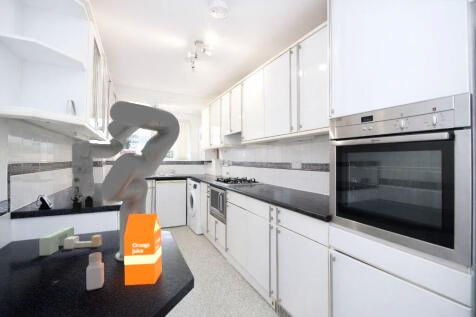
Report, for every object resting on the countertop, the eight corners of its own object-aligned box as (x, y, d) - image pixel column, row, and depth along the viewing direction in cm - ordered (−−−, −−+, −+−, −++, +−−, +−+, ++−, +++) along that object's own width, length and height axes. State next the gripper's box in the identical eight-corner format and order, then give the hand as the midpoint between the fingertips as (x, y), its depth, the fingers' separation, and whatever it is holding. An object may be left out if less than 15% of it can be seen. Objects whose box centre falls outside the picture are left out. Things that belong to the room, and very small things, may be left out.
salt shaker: (86, 291, 65) (85, 257, 65) (88, 284, 68) (88, 252, 69) (102, 288, 66) (101, 255, 67) (104, 281, 70) (103, 250, 70)
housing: (74, 241, 109) (73, 226, 109) (50, 254, 93) (50, 237, 93) (65, 242, 108) (64, 227, 109) (39, 255, 93) (39, 238, 93)
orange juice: (134, 272, 75) (133, 212, 76) (162, 271, 76) (160, 211, 76) (124, 285, 68) (123, 217, 68) (154, 283, 68) (153, 216, 69)
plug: (102, 243, 105) (102, 234, 105) (98, 247, 101) (97, 237, 101) (69, 245, 103) (69, 236, 103) (63, 249, 99) (63, 239, 99)
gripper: (81, 170, 92) (82, 213, 92) (100, 169, 109) (101, 205, 109) (61, 171, 91) (61, 214, 91) (83, 170, 108) (84, 206, 108)
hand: (83, 209), depth 100 cm, fingers open, 9 cm apart
